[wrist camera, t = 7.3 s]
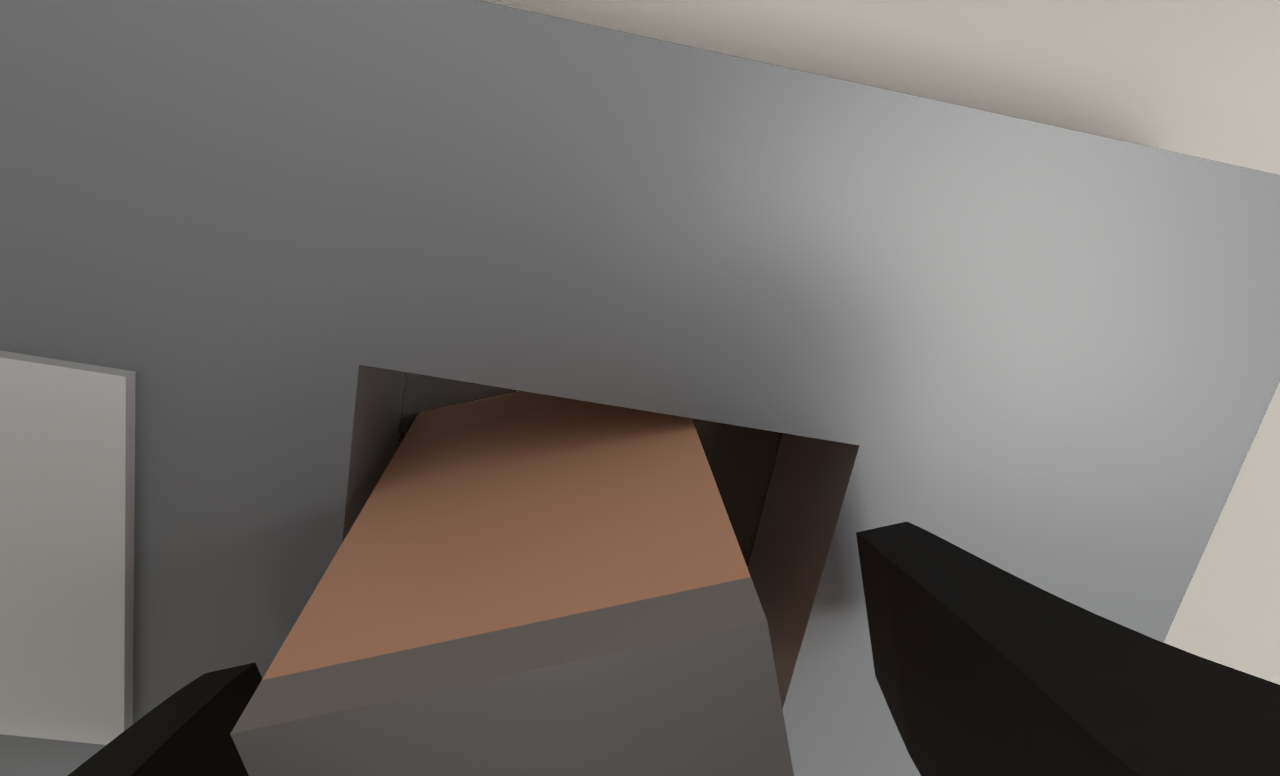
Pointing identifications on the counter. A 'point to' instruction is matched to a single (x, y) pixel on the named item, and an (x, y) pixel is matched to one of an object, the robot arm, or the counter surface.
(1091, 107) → the counter surface
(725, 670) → the tan rectangular block
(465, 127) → the outlet box
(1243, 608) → the counter surface
